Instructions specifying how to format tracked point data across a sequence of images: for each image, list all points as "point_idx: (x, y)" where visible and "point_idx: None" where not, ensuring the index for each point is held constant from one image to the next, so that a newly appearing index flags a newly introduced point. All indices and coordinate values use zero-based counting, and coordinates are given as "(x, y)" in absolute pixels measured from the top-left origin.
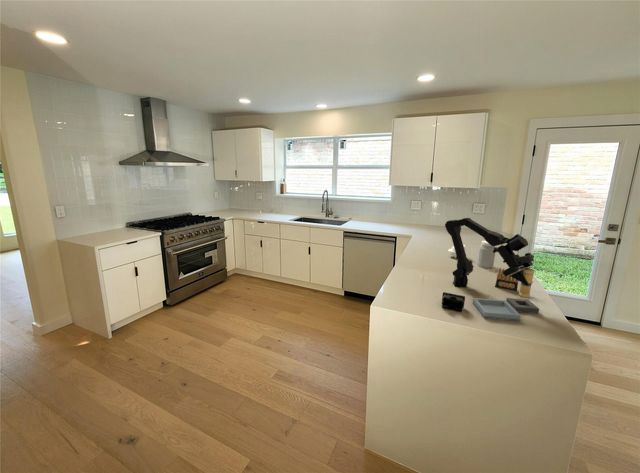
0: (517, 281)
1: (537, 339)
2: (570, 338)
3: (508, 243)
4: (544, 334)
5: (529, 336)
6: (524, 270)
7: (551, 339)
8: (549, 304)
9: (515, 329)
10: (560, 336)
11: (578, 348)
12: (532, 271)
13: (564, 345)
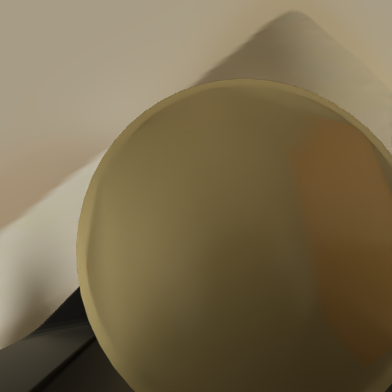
0: None
1: (369, 78)
2: (263, 44)
3: None
4: (319, 85)
5: (379, 96)
6: (388, 294)
7: (326, 62)
8: (40, 205)
9: (387, 138)
10: (281, 60)
11: (298, 13)
12: (292, 95)
13: (321, 34)
